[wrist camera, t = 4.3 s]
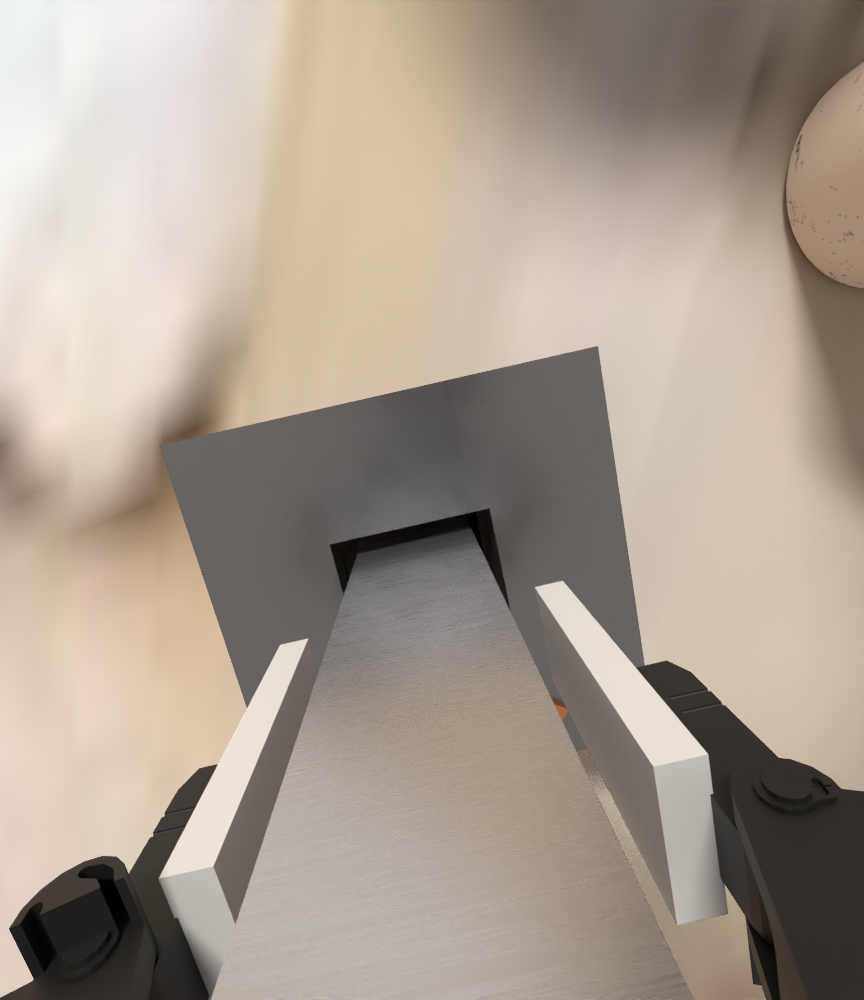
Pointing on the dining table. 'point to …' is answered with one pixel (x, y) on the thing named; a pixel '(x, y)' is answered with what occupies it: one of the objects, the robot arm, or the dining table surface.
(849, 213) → the teacup with lid
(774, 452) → the dining table surface
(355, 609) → the column
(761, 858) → the robot arm
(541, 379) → the sleeve base
